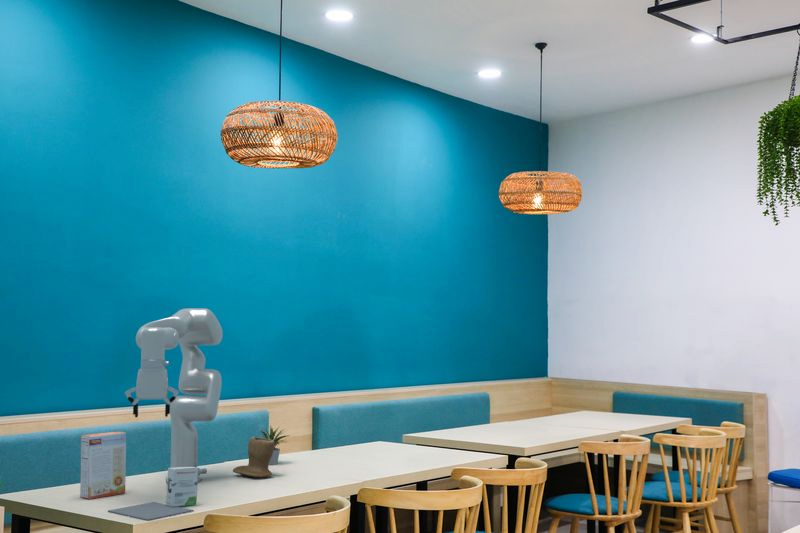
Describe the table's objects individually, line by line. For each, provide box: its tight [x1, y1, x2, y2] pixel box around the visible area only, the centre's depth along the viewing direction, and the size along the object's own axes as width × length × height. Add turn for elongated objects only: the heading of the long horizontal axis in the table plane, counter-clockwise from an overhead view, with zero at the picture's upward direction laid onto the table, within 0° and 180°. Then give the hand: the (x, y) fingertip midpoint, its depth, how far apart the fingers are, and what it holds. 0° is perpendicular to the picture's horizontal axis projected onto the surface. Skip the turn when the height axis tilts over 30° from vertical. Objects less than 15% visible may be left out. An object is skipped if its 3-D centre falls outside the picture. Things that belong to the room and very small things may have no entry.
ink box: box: [165, 467, 199, 507], centre depth 276 cm, size 9×5×12 cm, turn 131°
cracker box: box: [79, 430, 127, 500], centre depth 292 cm, size 14×6×21 cm, turn 140°
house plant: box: [260, 425, 291, 466], centre depth 359 cm, size 14×14×16 cm
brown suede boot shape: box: [232, 436, 276, 478], centre depth 331 cm, size 15×12×15 cm
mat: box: [107, 501, 195, 521], centre depth 266 cm, size 17×20×1 cm
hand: (151, 416), depth 287 cm, fingers open, 9 cm apart
